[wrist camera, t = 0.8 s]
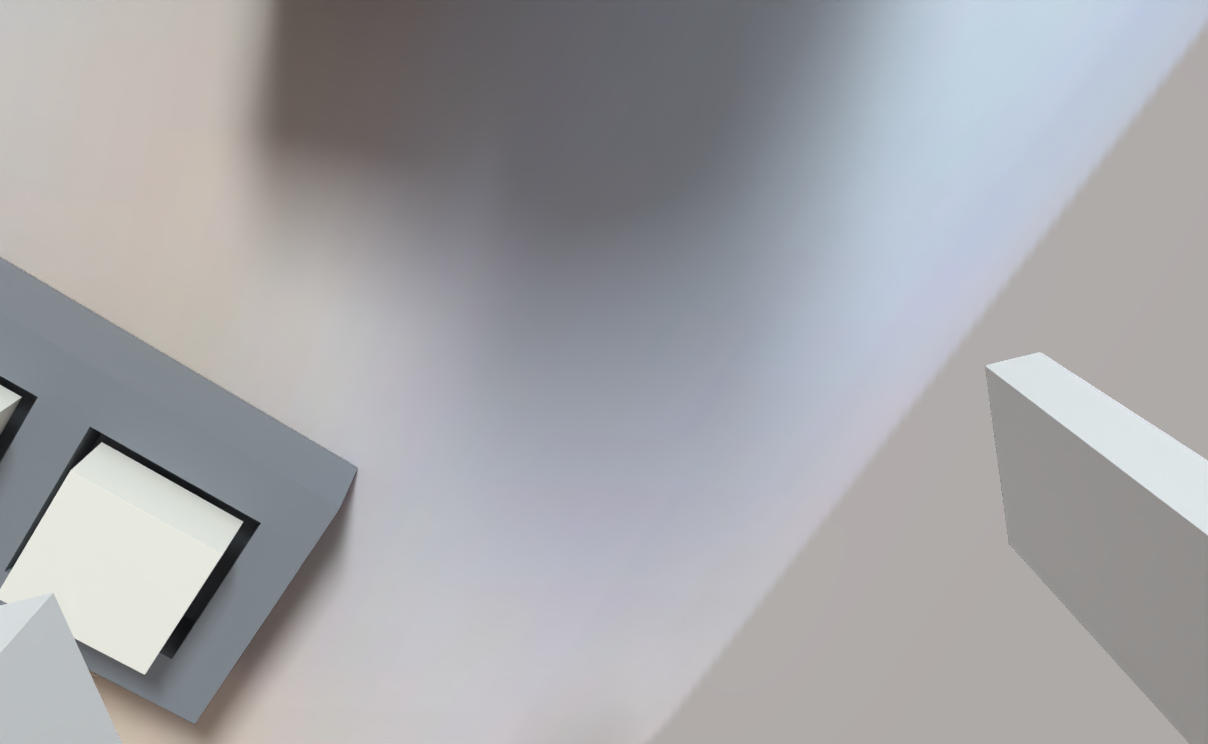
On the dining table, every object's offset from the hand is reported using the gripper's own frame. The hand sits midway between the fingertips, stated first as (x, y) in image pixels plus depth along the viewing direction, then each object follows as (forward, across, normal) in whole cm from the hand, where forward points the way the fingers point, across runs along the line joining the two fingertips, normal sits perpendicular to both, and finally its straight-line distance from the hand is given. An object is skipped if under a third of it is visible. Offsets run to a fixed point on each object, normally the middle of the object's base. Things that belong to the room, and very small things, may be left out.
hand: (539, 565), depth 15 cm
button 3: (+20, -16, -6) cm, 26 cm away
